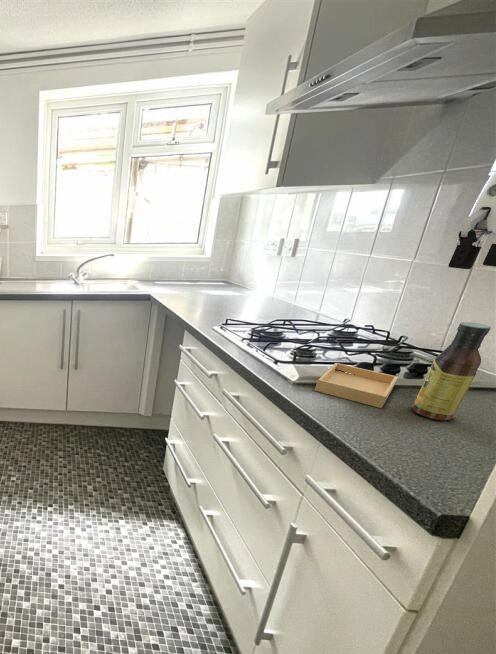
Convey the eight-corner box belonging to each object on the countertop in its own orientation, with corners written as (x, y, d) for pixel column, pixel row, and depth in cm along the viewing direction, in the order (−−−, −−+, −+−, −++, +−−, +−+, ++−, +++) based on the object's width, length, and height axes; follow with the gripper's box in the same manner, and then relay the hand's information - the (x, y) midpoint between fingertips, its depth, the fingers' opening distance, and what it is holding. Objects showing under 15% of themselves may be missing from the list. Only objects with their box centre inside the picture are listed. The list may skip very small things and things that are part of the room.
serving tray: (331, 372, 109) (335, 362, 108) (393, 387, 101) (398, 376, 100) (314, 390, 99) (318, 379, 98) (381, 408, 91) (386, 396, 90)
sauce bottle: (420, 406, 92) (463, 318, 84) (458, 418, 86) (508, 326, 78) (403, 411, 89) (446, 321, 81) (441, 424, 84) (491, 330, 76)
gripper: (523, 162, 66) (471, 272, 73) (588, 165, 70) (534, 268, 77) (462, 165, 73) (420, 266, 80) (525, 168, 77) (480, 263, 84)
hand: (476, 267), depth 79 cm, fingers open, 9 cm apart
